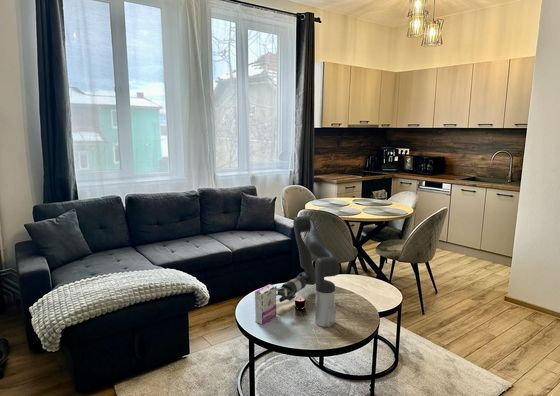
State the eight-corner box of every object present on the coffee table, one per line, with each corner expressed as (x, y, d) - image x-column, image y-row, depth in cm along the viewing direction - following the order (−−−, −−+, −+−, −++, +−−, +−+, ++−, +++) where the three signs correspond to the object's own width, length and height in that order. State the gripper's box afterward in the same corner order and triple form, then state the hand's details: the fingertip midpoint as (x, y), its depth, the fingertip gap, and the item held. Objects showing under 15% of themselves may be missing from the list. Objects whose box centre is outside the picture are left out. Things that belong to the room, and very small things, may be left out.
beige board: (301, 302, 209) (301, 301, 209) (281, 315, 194) (281, 314, 194) (283, 296, 216) (283, 295, 216) (262, 309, 201) (262, 308, 201)
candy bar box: (268, 313, 196) (268, 283, 193) (276, 316, 193) (276, 286, 190) (254, 322, 187) (254, 291, 184) (262, 325, 184) (262, 293, 181)
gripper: (281, 278, 210) (262, 287, 197) (302, 284, 201) (284, 294, 189) (281, 290, 211) (262, 301, 198) (302, 297, 203) (284, 308, 190)
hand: (273, 298), depth 193 cm, fingers open, 8 cm apart
